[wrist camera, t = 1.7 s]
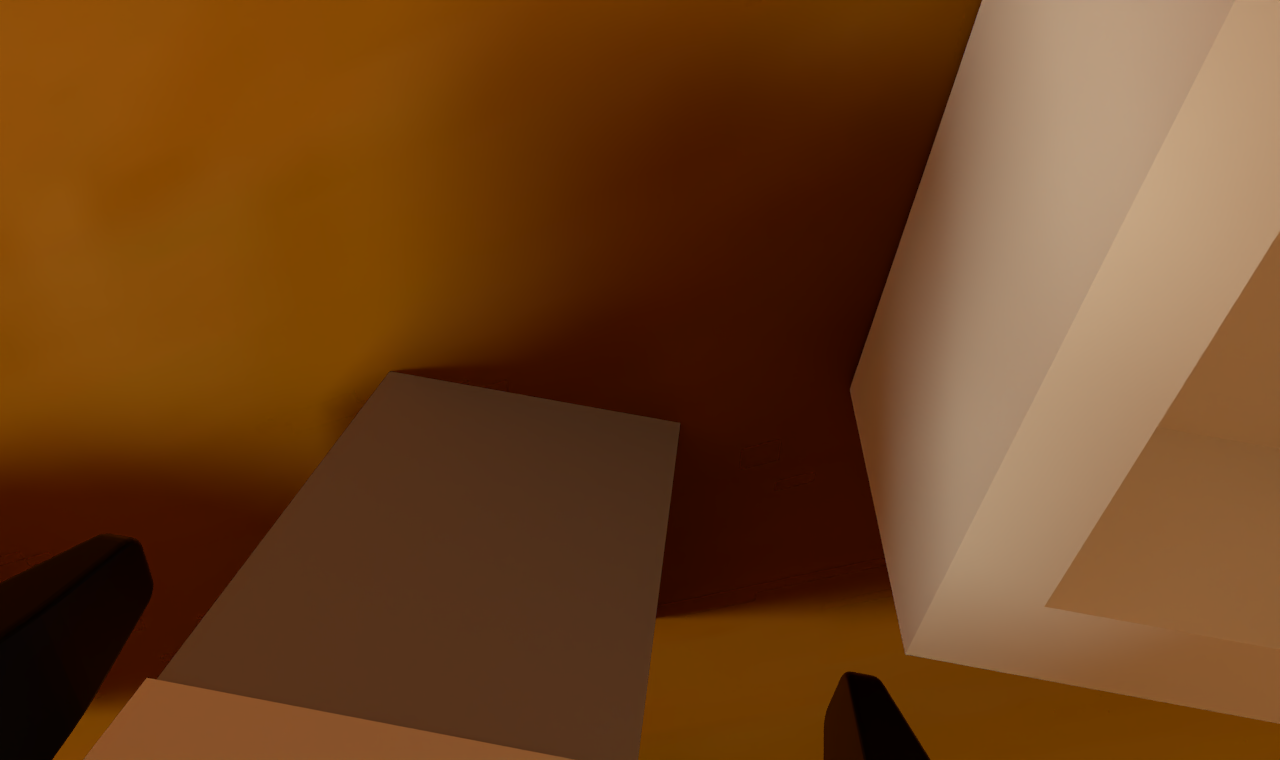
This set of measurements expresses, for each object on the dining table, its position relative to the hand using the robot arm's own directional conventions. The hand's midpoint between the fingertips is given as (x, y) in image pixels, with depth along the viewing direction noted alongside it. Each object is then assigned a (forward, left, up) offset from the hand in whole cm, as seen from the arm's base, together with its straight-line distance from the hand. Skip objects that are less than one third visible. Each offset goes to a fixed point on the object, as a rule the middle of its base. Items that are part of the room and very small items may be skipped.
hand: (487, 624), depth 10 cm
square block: (0, 0, -2) cm, 2 cm away
